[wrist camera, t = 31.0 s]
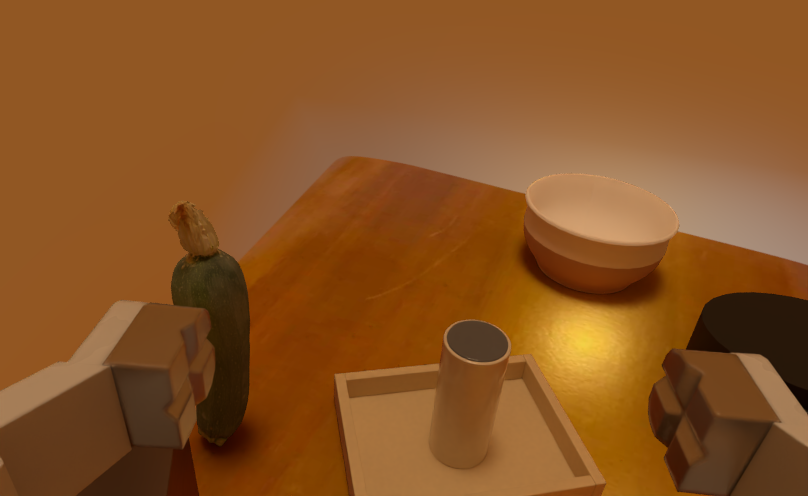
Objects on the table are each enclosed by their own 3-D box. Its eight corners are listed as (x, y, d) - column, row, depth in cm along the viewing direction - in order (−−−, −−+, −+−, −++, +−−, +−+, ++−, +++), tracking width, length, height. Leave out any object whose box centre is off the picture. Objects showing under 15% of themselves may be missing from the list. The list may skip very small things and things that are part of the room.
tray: (357, 547, 36) (359, 522, 35) (333, 397, 46) (334, 373, 45) (597, 506, 40) (607, 482, 38) (525, 376, 50) (531, 353, 49)
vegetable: (243, 408, 45) (219, 171, 34) (271, 444, 42) (254, 200, 31) (187, 435, 42) (142, 188, 32) (213, 476, 39) (173, 222, 29)
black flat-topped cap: (670, 333, 58) (690, 272, 54) (878, 372, 54) (916, 309, 50) (682, 446, 47) (708, 380, 43) (949, 509, 42) (1007, 441, 38)
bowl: (509, 292, 60) (523, 227, 56) (516, 221, 74) (527, 164, 70) (668, 322, 58) (695, 255, 54) (645, 242, 71) (665, 185, 67)
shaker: (452, 479, 40) (473, 372, 35) (416, 435, 43) (430, 330, 38) (500, 452, 42) (526, 348, 37) (462, 412, 45) (481, 310, 40)
